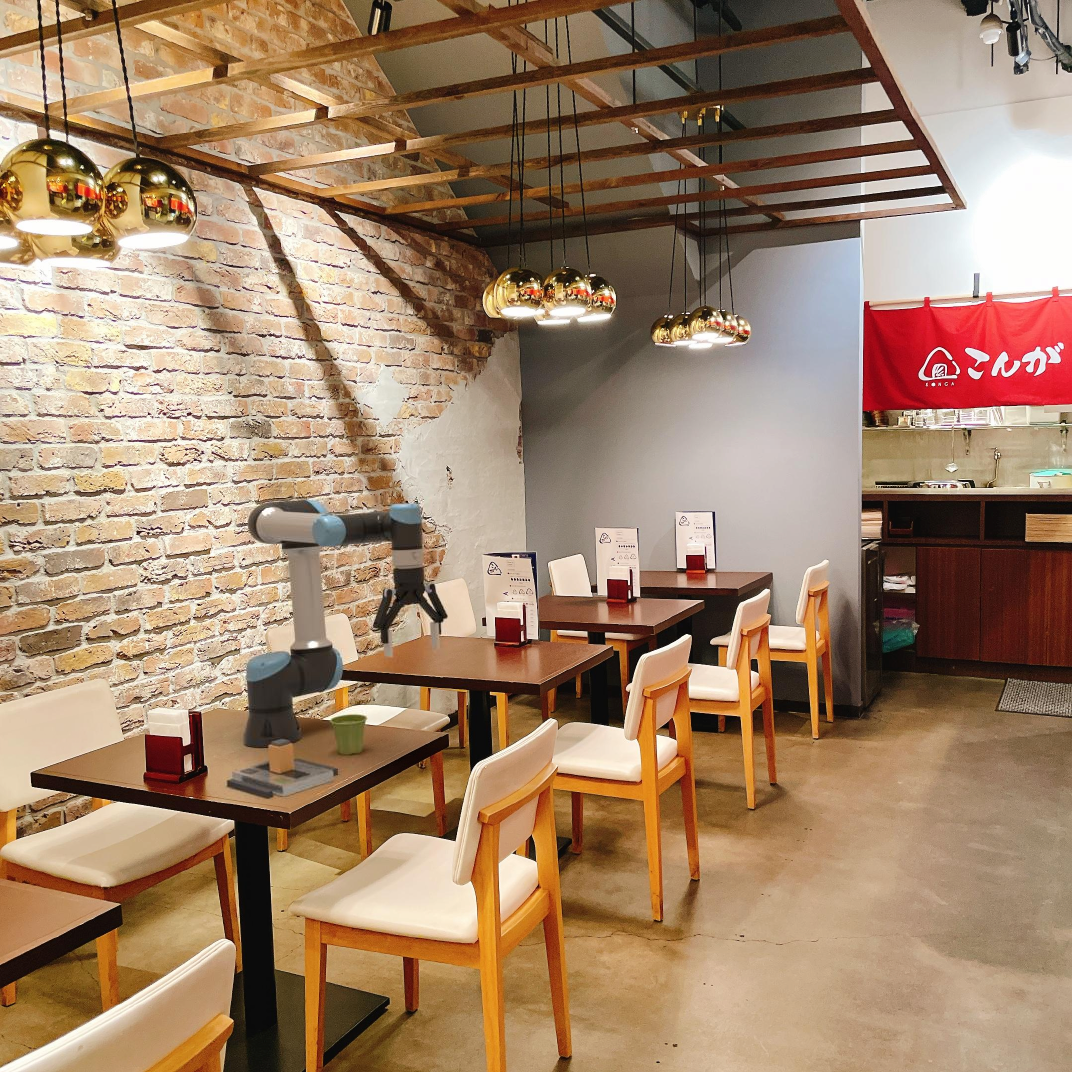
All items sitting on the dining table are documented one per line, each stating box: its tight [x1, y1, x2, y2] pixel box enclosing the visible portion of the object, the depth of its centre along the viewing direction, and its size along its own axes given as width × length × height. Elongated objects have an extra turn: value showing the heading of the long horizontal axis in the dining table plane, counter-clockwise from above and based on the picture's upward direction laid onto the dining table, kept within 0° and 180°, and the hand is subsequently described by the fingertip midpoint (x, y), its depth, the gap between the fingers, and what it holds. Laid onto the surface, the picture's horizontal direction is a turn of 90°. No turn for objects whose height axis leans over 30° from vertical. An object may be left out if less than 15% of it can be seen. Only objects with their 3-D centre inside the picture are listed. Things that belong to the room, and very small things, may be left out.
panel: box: [231, 760, 335, 798], centre depth 235 cm, size 20×14×3 cm
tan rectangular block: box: [267, 739, 295, 773], centre depth 234 cm, size 4×4×7 cm
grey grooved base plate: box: [226, 758, 339, 799], centre depth 235 cm, size 17×20×1 cm
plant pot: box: [329, 713, 368, 756], centre depth 257 cm, size 9×9×9 cm
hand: (412, 652), depth 246 cm, fingers open, 13 cm apart
